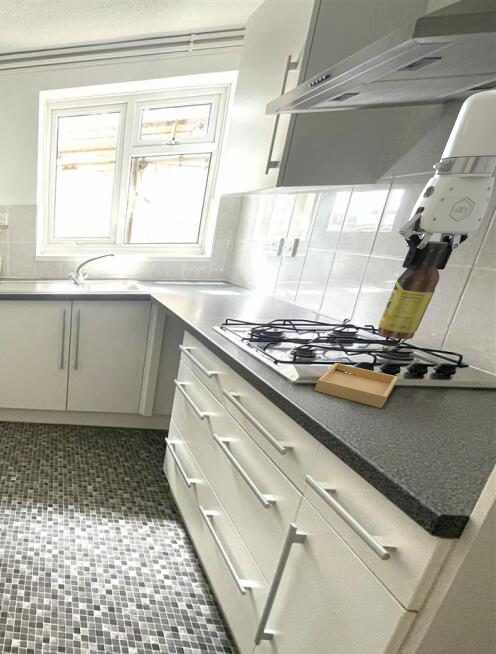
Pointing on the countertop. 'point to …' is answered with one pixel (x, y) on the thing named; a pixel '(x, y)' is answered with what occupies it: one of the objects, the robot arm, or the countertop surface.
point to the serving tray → (357, 384)
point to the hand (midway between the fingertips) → (422, 267)
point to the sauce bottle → (412, 295)
